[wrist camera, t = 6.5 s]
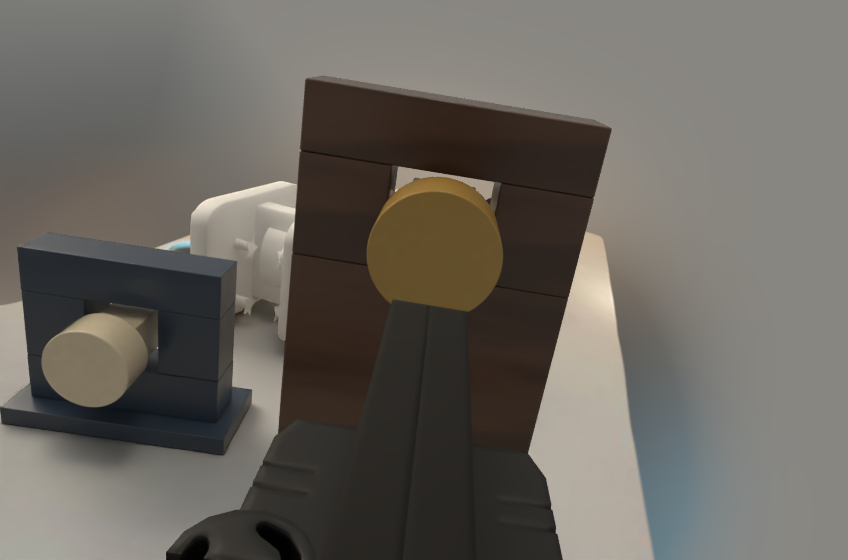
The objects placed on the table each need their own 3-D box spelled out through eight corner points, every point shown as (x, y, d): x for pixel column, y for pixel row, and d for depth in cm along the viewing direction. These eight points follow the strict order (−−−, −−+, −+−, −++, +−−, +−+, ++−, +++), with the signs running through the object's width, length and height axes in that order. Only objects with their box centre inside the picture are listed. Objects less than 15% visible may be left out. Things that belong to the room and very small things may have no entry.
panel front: (514, 616, 30) (649, 137, 22) (240, 572, 30) (267, 74, 22) (505, 528, 36) (610, 120, 27) (274, 491, 36) (307, 70, 27)
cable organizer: (286, 363, 49) (297, 229, 45) (183, 327, 52) (184, 199, 48) (366, 305, 63) (379, 197, 59) (280, 279, 66) (287, 174, 62)
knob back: (128, 413, 34) (126, 338, 32) (43, 401, 34) (37, 325, 32) (176, 358, 40) (176, 293, 38) (104, 348, 40) (101, 281, 38)
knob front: (488, 330, 22) (515, 202, 20) (359, 309, 22) (375, 179, 20) (482, 270, 28) (502, 168, 26) (380, 253, 28) (394, 151, 26)
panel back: (223, 455, 38) (229, 289, 34) (1, 423, 38) (-20, 251, 34) (251, 403, 44) (259, 255, 39) (58, 375, 43) (46, 223, 39)
